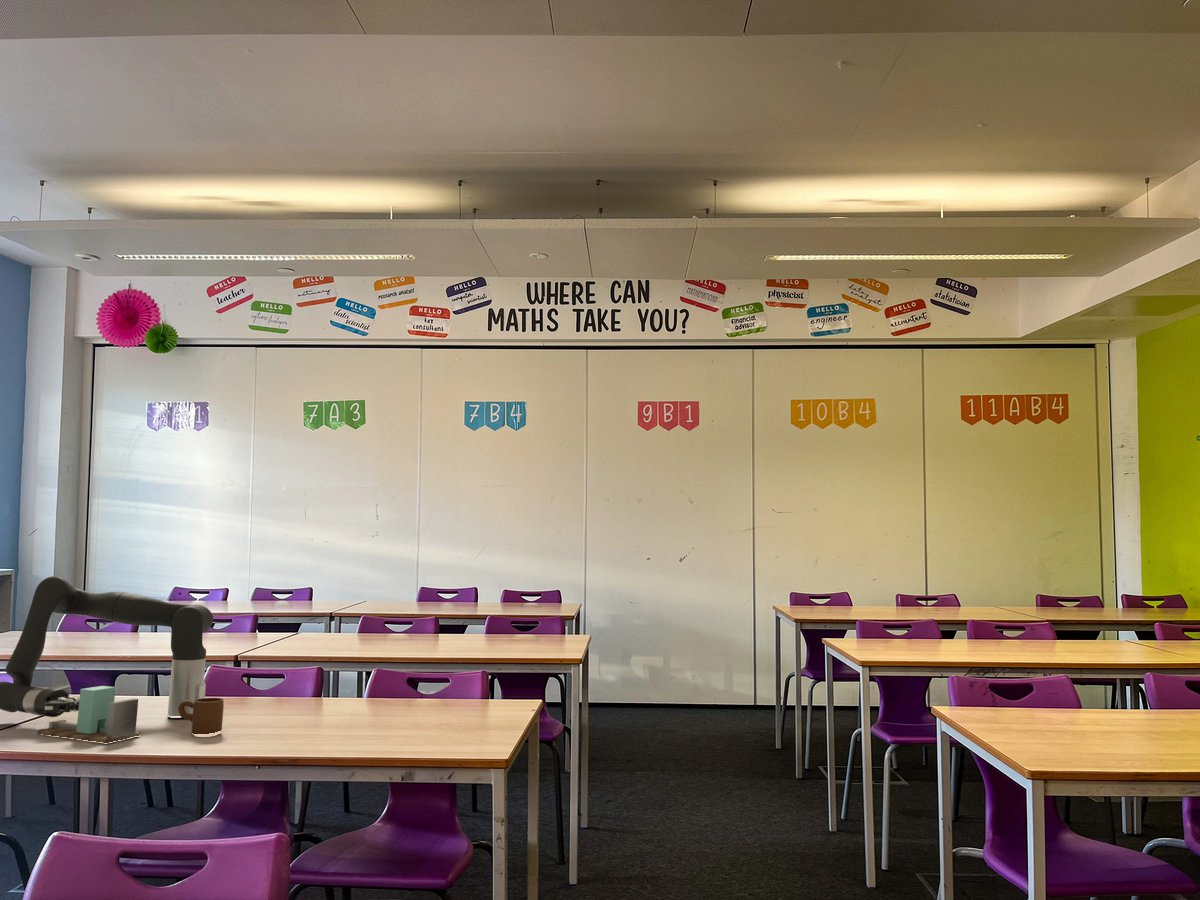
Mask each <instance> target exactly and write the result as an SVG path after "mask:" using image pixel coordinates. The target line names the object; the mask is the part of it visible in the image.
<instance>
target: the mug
mask: <svg viewBox="0 0 1200 900" xmlns="http://www.w3.org/2000/svg"><path fill="white" fill-rule="evenodd" d="M224 700H225V699H224V698H221V697H205V698H202V699H197V700H195V701H194V702H192V701H190V700H186V701H183V702H182V703H181V704H180V705H179V708H178V711H179V714H180V716H181V717H182V718H184V719H185V720H189V721H190V722H191V734H192V733H193V734H209V733H215V732H218V731H221V730H223V720H224V705H225V704H224V702H225V701H224ZM185 706H188V707H190V708H193V714H192V713H187V712H186V711H185ZM184 719H183V720H184ZM221 732H222V731H221Z"/></svg>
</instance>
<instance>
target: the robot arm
mask: <svg viewBox="0 0 1200 900" xmlns="http://www.w3.org/2000/svg"><path fill="white" fill-rule="evenodd" d="M29 607H30V608H29V611H28V613H27V618H26V620H25V624H24V626H23V629H22V632H21V634H20V636H19V639H18V641H17V644H16V646H15V648H14V650H13V652H12V653H11V656H10V658H9V660H8V662H7V664H6V667H5V673H6V674H7V675H8V676H9V677H10V678H12V681H13V682H8V681H0V710H1V711H4V712H8V713H16V712H20V713H26V714H30V715H35V716H39V717H41V716H42V717H49V718H56V717H59V716H61V715H62V714H64V713H71V712H78V710H79V700H80V697H76V696H74V695H70V694H69V693H68V692H67V691H66V690H65V689H63V688H55V687H53V688H52V687H48V686H47V687H45V686H43V687H39V686H38V687H36V686H32V682H33V678H34V677H33V676H34V672H35V670H36V668H37V666H38V663H39V661H40V660H41V657H42V655H43V652H44V648H45V644H46V638H47V637H46V636H47V630H48V626H49V622H50V620H51V617H52V614H54V613H56V614H67V615H75V616H76V615H77V616H87V617H92V618H96V619H99V620H104V621H110V622H113V623H118V624H124V625H132V626H146V627H148V626H150V627H151V626H155V627H159V626H161V627H168V628H171V632H170V649H171V653H172V654H171V655H172V659H171V669H170V670H171V671H170V672H171V673H170V680H169V681H170V682H169V683H170V684H169V694H168V706H167V716H168V715H169V716H180V714H179V711H178V708H179V705H180V704H181V703H182V702H183V701H186V700H190V701H192V702H194V701H195V700H197V699H202V698H206V686H207V683H206V682H205V671H206V669H205V668H206V661H207V660H206V657H207V649H206V648H205V647H204V644H203V638H204V637H203V633H205V632H207V631H208V630H210V628H211V627H212V625H213V623H214V615H213V613H212V612H211V610H210V609H209V608H207V606H204V605H201V604H188V603H187V604H186V603H185V604H184V603H175V602H170V601H169V602H168V601H165V600H161V599H157V598H153V597H149V596H146V595H141V594H137V593H131V592H125V591H108V592H102V593H100V592H99V593H98V592H90V591H86V590H83V589H79V588H77V587H74V586H73V585H71V584H70V583H69V581H67V580H66V579H64V578H63V577H61V576H57V575H52V576H48V577H46V578H44V579H42V581H40V583H38V585H37V586H36V588H35V590H34V593H33V597H32V601H31V604H30V606H29ZM185 711H186V712H187V713H192V714H193V708H190V707H188V706H185Z"/></svg>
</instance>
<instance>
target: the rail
mask: <svg viewBox="0 0 1200 900" xmlns="http://www.w3.org/2000/svg"><path fill="white" fill-rule="evenodd" d="M138 707H139V699H138V698H128V699H122V700H117V701H115V700H114V702H110V703H109V714H108V724H107V727H99V726H97V733H99V734H106V738H110V739H113V738H117V737H122V736H127V735H131V734H135V733H136V732H137V731H136V730H137V719H138ZM48 728H51V729H52V728H62V729H70V730H77V722H68V721H67V719H59V720H58V719H57V720H52V721H49V722H48Z"/></svg>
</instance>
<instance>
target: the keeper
mask: <svg viewBox="0 0 1200 900" xmlns="http://www.w3.org/2000/svg"><path fill="white" fill-rule="evenodd" d="M115 695H116V687H115V686H110V685H109V686H107V685H100V686H99V685H98V686H93V687H92V686H91V687H86V688H80V691H79V698H80V700H79V710H78V711H77V722H76V723H77V731H76V732H78V733H85V734H92V733H97V726H99V727H107V724H108V714H109V703H110V702H115V697H116V696H115Z"/></svg>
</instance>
